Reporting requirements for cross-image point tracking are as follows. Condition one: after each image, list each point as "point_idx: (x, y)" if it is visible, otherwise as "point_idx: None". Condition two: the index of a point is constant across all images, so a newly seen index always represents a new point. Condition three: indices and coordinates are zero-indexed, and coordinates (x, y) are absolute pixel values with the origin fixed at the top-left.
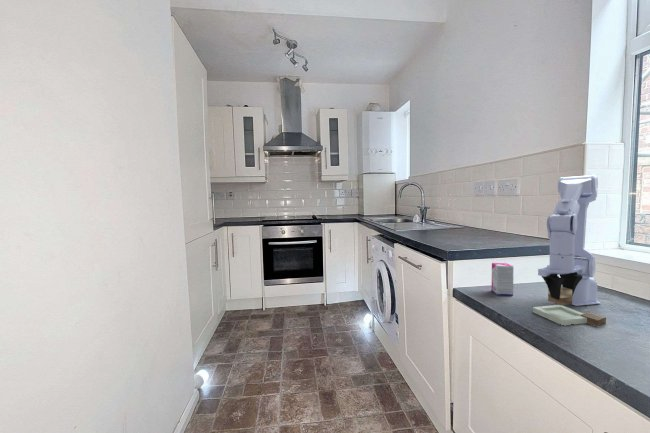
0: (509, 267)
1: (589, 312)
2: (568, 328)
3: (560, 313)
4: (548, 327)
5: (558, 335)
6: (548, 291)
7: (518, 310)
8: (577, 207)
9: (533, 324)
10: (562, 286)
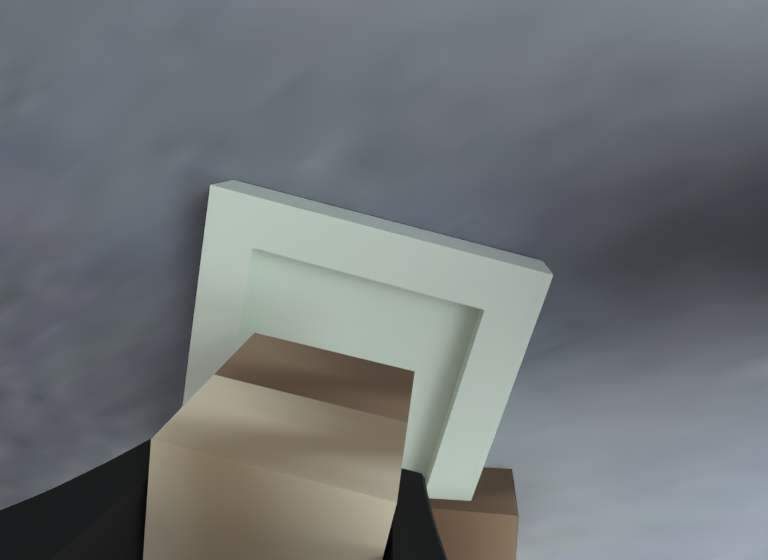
0: None
1: (508, 523)
2: None
3: (362, 356)
4: (82, 408)
5: (42, 488)
6: (195, 397)
7: (146, 86)
8: None
9: (25, 335)
10: (393, 555)
